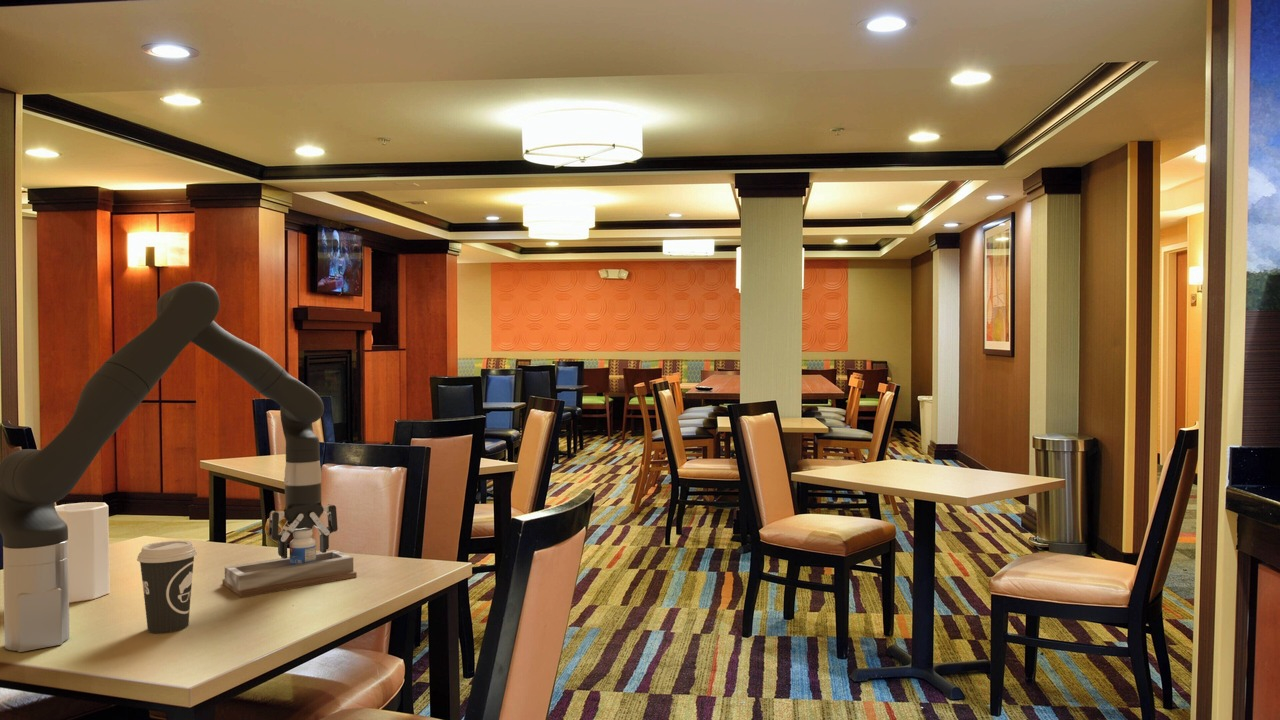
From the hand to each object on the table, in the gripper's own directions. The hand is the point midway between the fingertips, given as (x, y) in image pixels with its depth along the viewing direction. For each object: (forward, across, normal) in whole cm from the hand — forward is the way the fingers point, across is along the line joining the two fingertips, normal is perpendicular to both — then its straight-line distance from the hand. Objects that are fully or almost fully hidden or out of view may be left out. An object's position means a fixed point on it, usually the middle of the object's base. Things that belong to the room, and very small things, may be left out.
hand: (304, 555), depth 193 cm
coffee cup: (+5, -31, -19) cm, 37 cm away
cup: (+5, -40, +17) cm, 44 cm away
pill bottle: (+4, 0, 0) cm, 4 cm away
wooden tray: (+5, -3, 0) cm, 6 cm away
